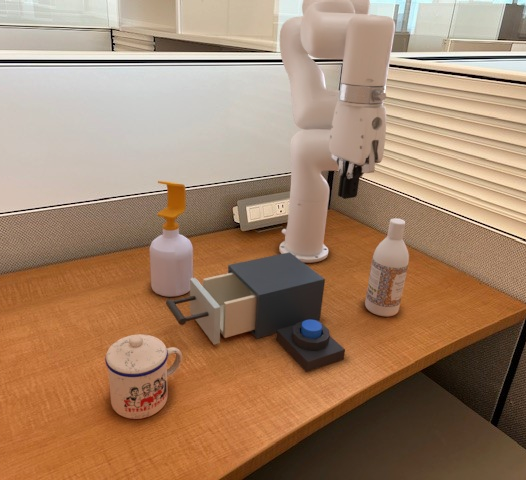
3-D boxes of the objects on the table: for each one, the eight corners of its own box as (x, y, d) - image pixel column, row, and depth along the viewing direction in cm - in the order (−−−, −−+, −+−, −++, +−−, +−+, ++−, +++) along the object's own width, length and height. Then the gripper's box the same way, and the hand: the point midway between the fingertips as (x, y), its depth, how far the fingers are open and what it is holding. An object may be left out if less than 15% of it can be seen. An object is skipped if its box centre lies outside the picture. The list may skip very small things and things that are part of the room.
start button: (297, 330, 87) (297, 322, 86) (313, 325, 88) (314, 317, 87) (308, 341, 84) (309, 333, 83) (325, 336, 85) (326, 328, 85)
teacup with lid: (124, 430, 69) (118, 366, 64) (100, 393, 75) (93, 332, 70) (196, 397, 75) (196, 336, 70) (168, 365, 82) (166, 308, 77)
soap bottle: (143, 292, 103) (137, 183, 93) (165, 273, 111) (161, 171, 101) (180, 301, 100) (178, 190, 90) (199, 282, 108) (200, 177, 98)
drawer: (184, 353, 84) (183, 316, 80) (162, 319, 93) (161, 284, 89) (277, 326, 92) (280, 292, 89) (249, 298, 101) (251, 265, 98)
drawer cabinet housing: (256, 339, 90) (259, 295, 86) (226, 305, 100) (228, 264, 96) (319, 320, 96) (325, 278, 92) (286, 290, 106) (289, 252, 102)
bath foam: (382, 321, 97) (400, 230, 88) (357, 305, 102) (371, 218, 93) (405, 311, 100) (424, 223, 92) (379, 296, 105) (395, 211, 97)
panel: (276, 339, 90) (277, 321, 88) (311, 329, 93) (313, 311, 92) (306, 372, 82) (308, 353, 80) (343, 359, 85) (346, 341, 84)
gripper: (410, 101, 77) (390, 207, 85) (350, 88, 89) (338, 182, 97) (374, 103, 74) (357, 213, 82) (317, 89, 86) (307, 186, 94)
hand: (347, 196), depth 89 cm, fingers closed
